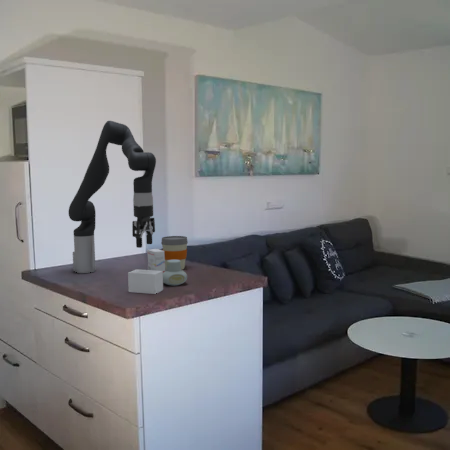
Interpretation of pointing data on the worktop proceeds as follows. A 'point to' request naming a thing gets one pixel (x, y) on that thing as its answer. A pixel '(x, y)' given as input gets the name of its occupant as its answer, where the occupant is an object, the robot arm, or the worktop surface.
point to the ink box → (156, 260)
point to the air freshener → (174, 273)
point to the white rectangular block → (145, 281)
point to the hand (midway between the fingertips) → (144, 245)
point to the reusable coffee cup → (175, 249)
